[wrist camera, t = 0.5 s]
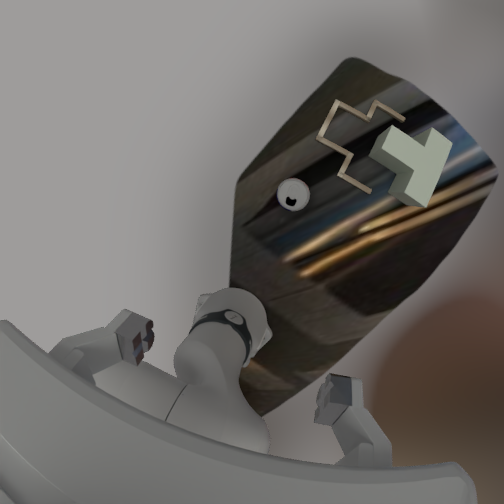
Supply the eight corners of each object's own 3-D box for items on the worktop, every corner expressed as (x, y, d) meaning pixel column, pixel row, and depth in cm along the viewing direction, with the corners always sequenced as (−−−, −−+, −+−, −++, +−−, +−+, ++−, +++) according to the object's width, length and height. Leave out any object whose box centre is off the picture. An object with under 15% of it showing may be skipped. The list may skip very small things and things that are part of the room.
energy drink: (279, 203, 55) (271, 205, 43) (286, 178, 53) (281, 173, 42) (304, 211, 54) (304, 215, 42) (312, 186, 53) (313, 183, 41)
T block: (406, 205, 49) (425, 207, 40) (359, 174, 50) (370, 170, 41) (431, 150, 46) (452, 143, 36) (385, 119, 47) (400, 105, 37)
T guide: (368, 194, 51) (369, 194, 50) (305, 159, 52) (305, 158, 51) (403, 119, 46) (405, 117, 45) (343, 85, 47) (344, 83, 46)
